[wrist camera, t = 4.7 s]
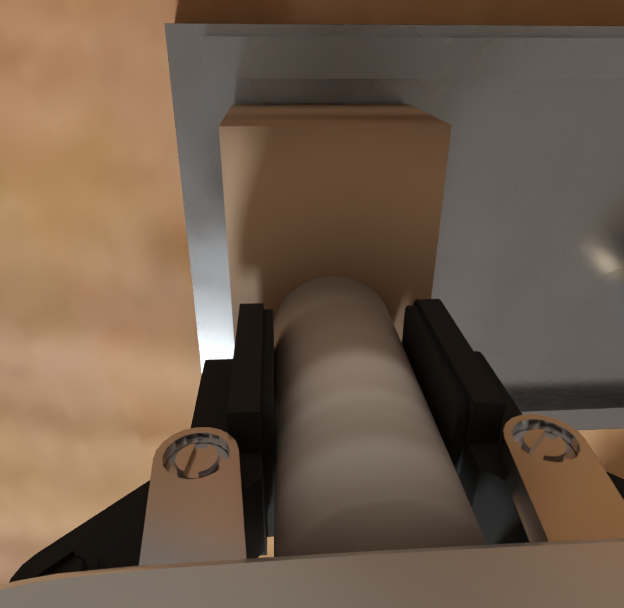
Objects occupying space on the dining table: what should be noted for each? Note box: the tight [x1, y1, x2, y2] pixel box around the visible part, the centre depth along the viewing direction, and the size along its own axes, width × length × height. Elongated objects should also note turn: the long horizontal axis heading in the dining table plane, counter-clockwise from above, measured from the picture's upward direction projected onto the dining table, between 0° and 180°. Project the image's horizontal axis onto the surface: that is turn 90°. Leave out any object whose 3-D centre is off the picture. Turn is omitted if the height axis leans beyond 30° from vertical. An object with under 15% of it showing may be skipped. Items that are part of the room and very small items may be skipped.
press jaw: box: [219, 104, 487, 557], centre depth 12 cm, size 10×5×11 cm, turn 0°
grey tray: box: [165, 23, 624, 430], centre depth 16 cm, size 14×20×6 cm
